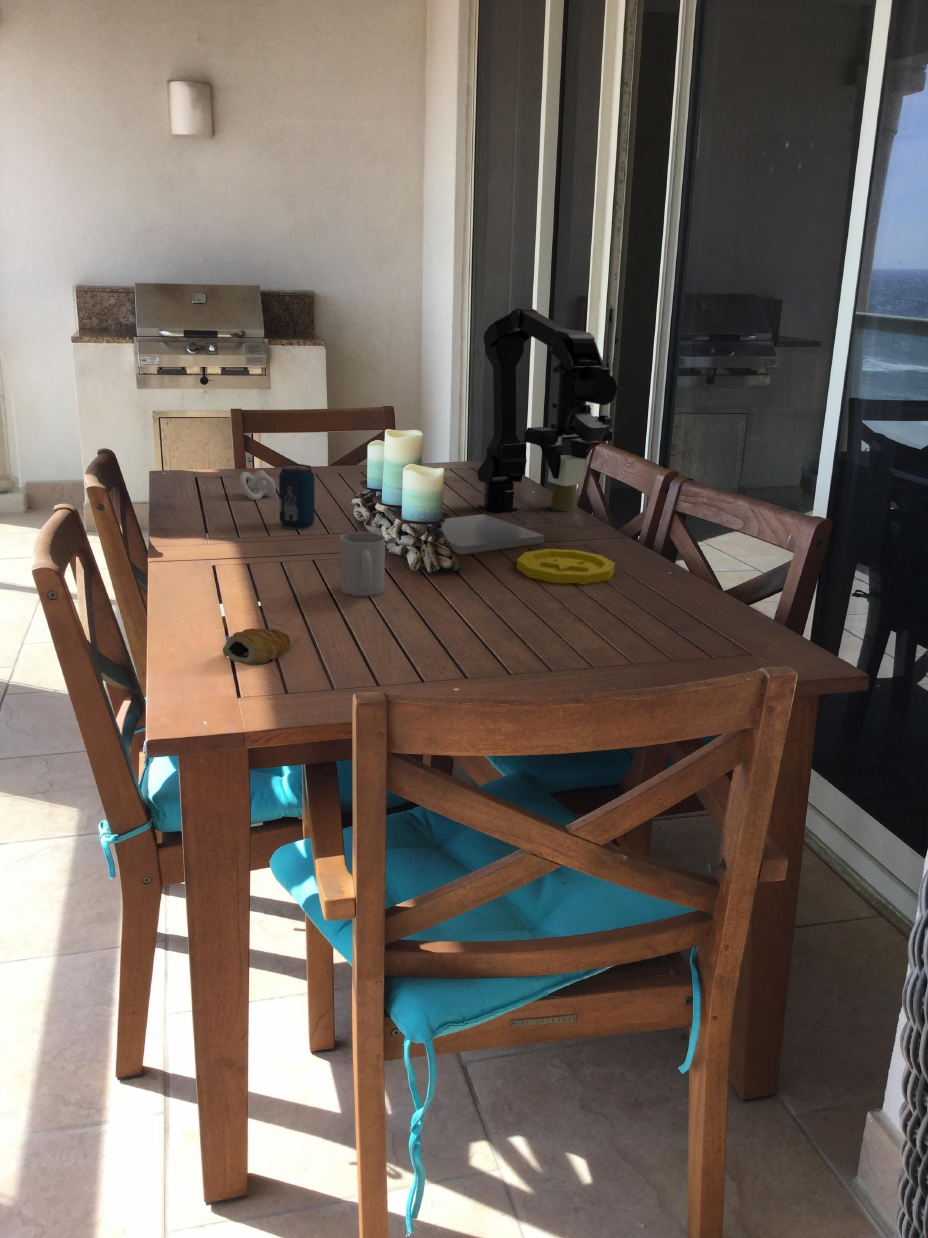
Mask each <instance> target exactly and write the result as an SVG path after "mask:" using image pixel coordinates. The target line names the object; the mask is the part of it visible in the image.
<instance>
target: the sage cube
mask: <svg viewBox="0 0 928 1238" xmlns="http://www.w3.org/2000/svg"><path fill="white" fill-rule="evenodd" d="M585 465H586V460H585V459H582V458H578V457H574V456H572V455H568V454H567V455H566V454H565V455H564V454H563V455H561V460H560V471H559V477H558V479H555V478H553V476H552V473H551V470H550V468H549V467H548V475H547V477H548V478H547V481H548V483H552V484H554V485H555V484H559V485H562V486H570V485H576V486H578V485H584V481H585V480H584V479H585V467H586V466H585Z"/></svg>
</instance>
